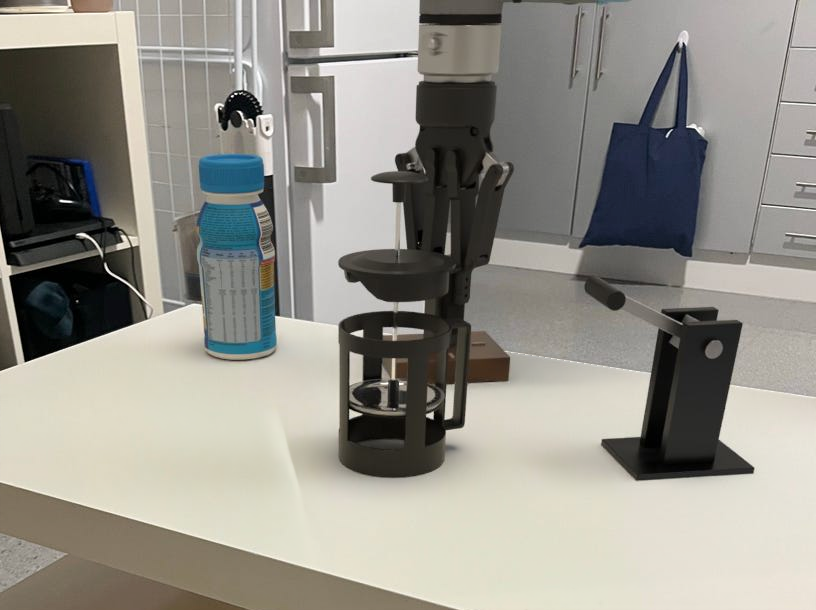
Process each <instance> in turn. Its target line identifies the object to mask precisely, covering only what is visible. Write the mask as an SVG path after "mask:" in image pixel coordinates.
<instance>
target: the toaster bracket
mask: <svg viewBox="0 0 816 610" xmlns="http://www.w3.org/2000/svg"><path fill="white" fill-rule="evenodd" d="M719 311H720V310H719V308H716V307H714V306H698V307H695V306H694V307H677V308H676V307H673V308H672V307H671V308H661V311H660V313H662V314H664V315H666V316H668V317H670V318H672V319H674V320H676V321H678V322H680V323H681V322H682V320H683V318H684V317H685V315H686V314H687V315H689V316H691V317H693V318H695V319H697V320H699V321H697V322H683V325H682V331H681V336H680V342H679V348H677V347H675V346H674V345H672V344H671V343H669V341H670V340H671V338H672V336H673V335H672V334H670V333H668V332H666V331H664V330H662V329H660V328H658V329H657V335H656V340H655V347H654V352H653V353H654V354H653V358H652V365H651V371H650V377H649V383H648V389H647V395H646V400H645V401H646V402H645V407H644V414H643V419H642V425H641V431H640V436H630V437H615V438H614V437H613V438H602V439H601V442H600V445H601V447H603V449H605V450H606V452H608V453H609V455H610V456H611V457H612V458H613V459H614V460H615V461H616V462H617V463H618V464H619V465H620V466H621V467H622V468H623V469H624V470H625V471H626V472H627V473H628V474H629V475H630V476H631V477H632V478H633V479H634V480H635V481H636V482H640V481H654V480H671V479H673V480H674V479H688V478H703V477H719V476H734V475H752V474H754V472H755V469H756V468H755V467H754V466H753V465H752V464H750V462H748V461H747V460H745V459H744V458H743V457H742V456H741V455H739V454H738V453H737V452H735V451H734V450H733V449H732V448H730V447H729V446H728V445H727V444H725V443H724V442H723V441H722V440H720V435H721V432H722V431H721V430H722V425H723V421H724V416H725V411H726V406H727V403H728V398H729V391H730V387H731V383H732V377H733V372H734V368H735V363H736V359H737V355H738V354H737V353H738V349H739V344H740V340H741V339H740V338H741V334H742V330H743V325H744V323H743V322H741V321H740V320H739V319H723V320H721V319H720V320H718V315H719Z"/></svg>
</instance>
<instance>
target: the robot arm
mask: <svg viewBox="0 0 816 610" xmlns="http://www.w3.org/2000/svg"><path fill="white" fill-rule="evenodd" d="M630 1H632V0H419V7H418V8H419V9H418V11H419V15H418V44H417V46H418V47H417V72H418V74H419V75H421V76H422V75H423V80H420V81H419V82H418V84H417V85H416V92H415V93H416V94H415V122H416V124H417V125H419V131H418V134H417V136H416V140H415V143H414V146H413V147H411V148H410V149H409V150H408V151H406V152H401V153H397V154H396V155H395V157H394V163H395V167H396V170H397V171H407V172H415V173H419V174H422V175H425V176H426V177H428V180H427V181H425V182H421V183H412V184H406V192H405V202H402V207H403V218H404V230H405V240H406V241H405V242H406V249H412V250H423V251H431V252H437V253H441V254H445V253H446V244H447V235H448V227H449V226H448V225H449V216H450V254H451V257H452V258H454V259H455V261H456V266H455V268H454V269H453V270H451V271H449V287H448V293H447V294H445V295H443V300H442V318H443V319H446V320H447V319H456V318H460V319H462V320H463V315H464V316H465V310H464V304H465V305H466V304H468V303H469V301H470V299H471V285H472V274H473V270H475V269H476V268H480V267H483V266H486V265H488V264H490V261H491V255H492V251H493V247H494V241H495V236H496V232H497V227H498V223H499V218H500V214H501V213H500V212H501V207H502V203H503V200H504V199H503V198H504V193H505V189H506V187H507V185H508V183H509V181H510V179H511V177H512V176H513V174H514V171H515V167H514V163H512V162H510V161H506V162H504V161H503V160H501V158H499V156H497V155H496V154H495V153H494V144H493V141H492V137H491V129H492V126H493V124H494V122H495V119H496V106H497V104H496V103H497V93H498V92H497V90H498V85H497V84H496V82H495V81H493V80H492V76H494V75H496V74H498V72H499V70H500V53H501V52H500V51H501V39H502V38H501V37H502V19H503V14H502V13H503V8H504V4H505V3H512V4H521V3H536V4H537V3H538V4H539V3H541V4H543V3H544V4H549V3H550V4H562V5H569V6H570V5H571V6H573V5H578V4H595V5H599V6H602V5H608V4H609V3H627V2H630ZM480 178H481V183H480ZM445 255H446V254H445ZM456 334H458V328H454V329H452V335H451V336H453V335H456Z"/></svg>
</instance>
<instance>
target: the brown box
mask: <svg viewBox="0 0 816 610" xmlns="http://www.w3.org/2000/svg"><path fill="white" fill-rule="evenodd" d="M419 339H423V333H411V334H410V333H407V334H404V333H403V334H397V341H406V340H419ZM383 340H389V341H393V334H383ZM456 354H457V344H454V345H451V346H450V347H449V351H448V368H447V385H448V384H455V370H456ZM436 355H437V354H434V355H430V356H429V366H428V383H429V384H432V385H435V375H436ZM407 361H408V358H398V359H396V378H398V379H407ZM382 366H383V367H384V369H385V371H386V372H387V374H388V375H389V377H390V378H392V358H382ZM510 366H511V355H509V354H508V353H507V352H506V351H505V350H504V349H503V348H502V347H501V346H500V345H499V344H498V343H497V342H496V341H495V340H494V339H493V338H492V336H491V335H490V334H489V333H487V331H486V330H475V331H471V339H470V354H469V369H468V383H467V384H469V383H486V382H487V383H488V382H506V381H507V382H509V380H510V379H509V377H510Z"/></svg>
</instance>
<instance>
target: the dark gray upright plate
mask: <svg viewBox="0 0 816 610" xmlns="http://www.w3.org/2000/svg"><path fill="white" fill-rule="evenodd" d="M446 255H447V256H450V257H451V253H449V254H446ZM442 300H443V296H442V297H438V298H435V299H431V300H425V301H424V310H423V311H424V312H423V313H426V314H430V315H435V316H438V317H441V318H442ZM465 307H466V303H465V304H464V311H465V309H466V308H465ZM463 320H464V321H465V314H464V315H463ZM422 334H423V339H426V338H431V337H435V336H438V334H437V333H434V332H431V331H426V330H423V333H422ZM457 337H458V334H456V335H453V336H451V345H454V344H457Z"/></svg>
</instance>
